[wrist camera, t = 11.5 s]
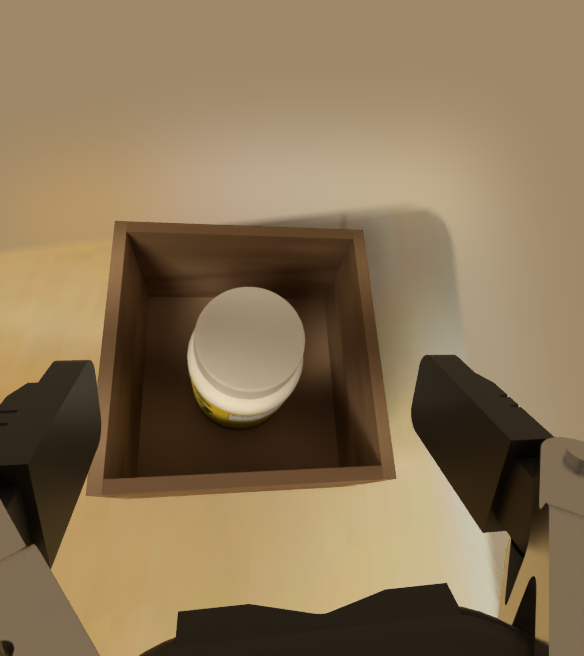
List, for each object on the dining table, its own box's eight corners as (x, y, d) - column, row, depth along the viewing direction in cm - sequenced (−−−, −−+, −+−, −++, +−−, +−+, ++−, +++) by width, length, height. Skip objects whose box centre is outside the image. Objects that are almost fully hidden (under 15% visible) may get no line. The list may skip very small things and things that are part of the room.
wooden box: (347, 486, 23) (396, 478, 17) (126, 498, 21) (85, 495, 15) (329, 294, 27) (362, 228, 21) (142, 291, 25) (115, 218, 19)
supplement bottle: (187, 350, 24) (174, 282, 16) (273, 337, 25) (300, 267, 17) (200, 441, 22) (193, 414, 14) (291, 422, 23) (330, 388, 15)
